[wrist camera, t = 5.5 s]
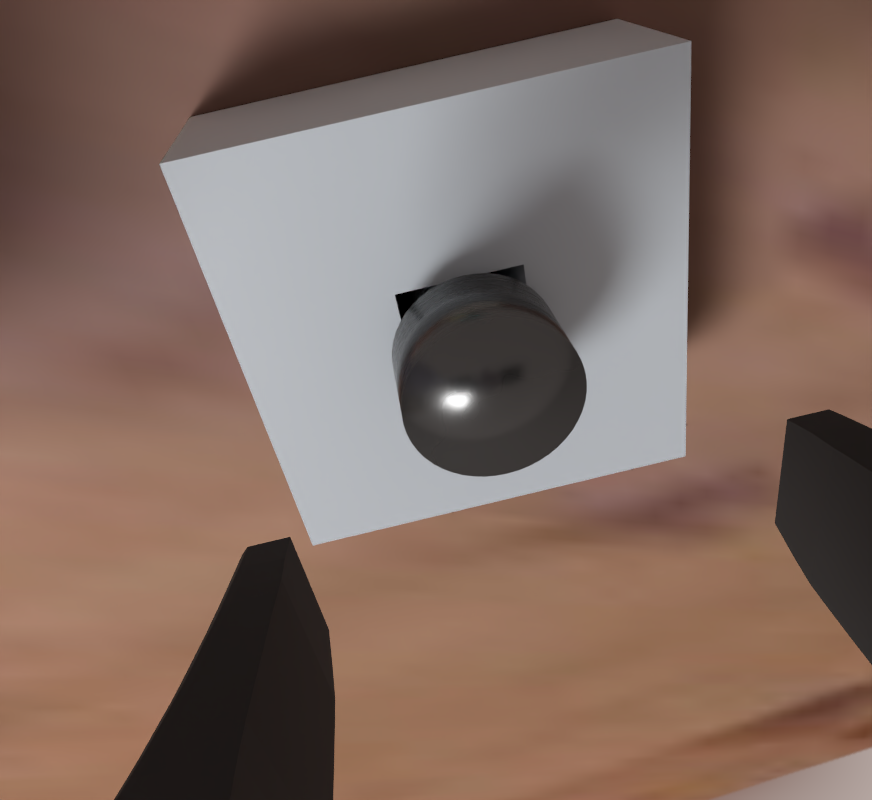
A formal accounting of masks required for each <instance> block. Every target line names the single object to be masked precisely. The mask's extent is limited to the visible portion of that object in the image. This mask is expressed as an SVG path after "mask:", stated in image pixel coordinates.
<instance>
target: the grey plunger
mask: <svg viewBox="0 0 872 800" xmlns="http://www.w3.org/2000/svg"><path fill="white" fill-rule="evenodd" d="M411 293H412V297H413V301H414V303H413V304H412V306H411V307H410V308H409V309H408V311H407V312H406V313H405V315H404V316H403V318H402V320H401V321H400V323H399V326H398V328H397V330H396V333H395V337H394V340H393V346H392V364H393V370H394V376H395V381H396V387H397V392H398V398H399V403H400V409H401V414H402V420H403V425H404V428H405V431H406V433H407V436H408V437H409V439H410V441H411V443H412V444H413V446H414V447H415V448H416V449H417V451H418V452H419V453H420V454H421V455H422V456H423V457H425V458H426V459H427V460H429V461H430V462H431V463H433V464H434V465H436V466H438V467H440V468H442V469H444V470H447V471H450V472H452V473H457V474H461V475H466V476H476V477H487V476H497V475H503V474H508V473H511V472H515V471H518V470H521V469H523V468H526V467H528V466H530V465H532V464H534V463H536V462H538V461H540V460H541V459H543V458H544V457H546V456H547V455H549V454H550V453H551V452H552V451H554V450H555V449H556V448H557V447H558V446H559V445H560V444H561V443H562V442H563V441H564V440H565V439H566V438H567V437H568V435H569V434H570V433H571V432H572V430H573V429H574V427H575V425H576V424H577V422H578V420H579V418H580V416H581V413H582V411H583V408H584V404H585V400H586V393H587V380H586V373H585V369H584V366H583V363H582V361H581V359H580V357H579V355H578V353H577V351H576V350H575V348H574V346H573V345H572V343H571V342H570V340H569V338H568V337H567V335H566V334H565V332H564V330H563V329H562V327H561V326H560V324H559V322H558V321H557V319H556V317H555V316H554V314H553V313H552V311H551V309H550V308H549V306H548V305H547V303H546V302H545V301H544V299H543V298H542V297H541V296H540V295H539V294H538V293H537V292H536V291H535V290H533V289H532V288H531V287H529V286H528V285H526V284H524V283H522V282H521V281H519V280H516V279H514V278H511V277H508V276H504V275H499V274H490V273H477V274H469V275H463V276H459V277H456V278H452V279H450V280H447V281H445V282H443V283H440V284H438V285H434V286H430V287H425V288H421V289H417V290H412V291H411Z"/></svg>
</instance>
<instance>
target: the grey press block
mask: <svg viewBox="0 0 872 800" xmlns="http://www.w3.org/2000/svg"><path fill="white" fill-rule="evenodd" d="M690 106H691V41H690V40H687V39H683V38H680V37H677V36H673V35H670V34H667V33H663V32H660V31H657V30H653V29H650V28H647V27H643V26H640V25H637V24H633V23H630V22H627V21H623V20H620V19H614V20H609V21H605V22H601V23H596V24H592V25H588V26H583V27H579V28H575V29H570V30H566V31H562V32H557V33H553V34H549V35H544V36H540V37H536V38H531V39H527V40H523V41H518V42H514V43H510V44H505V45H501V46H497V47H492V48H488V49H484V50H479V51H475V52H471V53H466V54H462V55H458V56H453V57H449V58H444V59H440V60H436V61H431V62H427V63H423V64H418V65H414V66H410V67H405V68H401V69H397V70H392V71H388V72H384V73H379V74H375V75H371V76H366V77H362V78H358V79H353V80H349V81H345V82H340V83H336V84H332V85H327V86H323V87H319V88H314V89H310V90H306V91H301V92H297V93H293V94H288V95H284V96H280V97H275V98H271V99H266V100H262V101H258V102H253V103H249V104H245V105H240V106H236V107H232V108H227V109H223V110H219V111H214V112H210V113H206V114H201V115H197V116H193V117H190V118H189V119H188V121H187V122H186V124H185V125H184V127H183V128H182V130H181V131H180V133H179V135H178V136H177V138H176V139H175V141H174V142H173V144H172V145H171V147H170V148H169V150H168V151H167V153H166V155H165V156H164V158H163V159H162V161H161V162H160V167H161V169H162V172H163V174H164V177H165V179H166V182H167V184H168V187H169V189H170V192H171V194H172V197H173V199H174V201H175V204H176V206H177V209H178V211H179V214H180V216H181V219H182V221H183V224H184V226H185V229H186V231H187V234H188V236H189V239H190V241H191V244H192V246H193V249H194V251H195V254H196V256H197V259H198V261H199V264H200V266H201V269H202V271H203V274H204V276H205V279H206V281H207V284H208V286H209V288H210V291H211V293H212V296H213V298H214V301H215V303H216V306H217V308H218V311H219V313H220V316H221V318H222V321H223V323H224V326H225V328H226V331H227V333H228V336H229V338H230V341H231V343H232V346H233V348H234V351H235V353H236V356H237V358H238V361H239V363H240V366H241V368H242V370H243V373H244V375H245V378H246V380H247V383H248V385H249V388H250V390H251V393H252V395H253V398H254V400H255V403H256V405H257V408H258V410H259V413H260V415H261V418H262V420H263V423H264V425H265V428H266V430H267V433H268V435H269V438H270V440H271V443H272V445H273V448H274V450H275V453H276V455H277V457H278V460H279V462H280V465H281V467H282V470H283V472H284V475H285V477H286V480H287V482H288V485H289V487H290V490H291V492H292V495H293V497H294V500H295V502H296V505H297V507H298V510H299V512H300V515H301V517H302V520H303V522H304V525H305V527H306V530H307V532H308V535H309V537H310V540H311V542H312V544H313V545H317V544H321V543H325V542H329V541H334V540H338V539H342V538H346V537H350V536H354V535H359V534H363V533H367V532H371V531H375V530H379V529H384V528H388V527H392V526H396V525H400V524H404V523H409V522H413V521H417V520H421V519H425V518H429V517H434V516H438V515H442V514H446V513H450V512H454V511H459V510H463V509H467V508H471V507H475V506H480V505H484V504H488V503H492V502H496V501H500V500H505V499H509V498H513V497H517V496H521V495H525V494H530V493H534V492H538V491H542V490H546V489H550V488H555V487H559V486H563V485H567V484H571V483H575V482H580V481H584V480H588V479H592V478H596V477H601V476H605V475H609V474H613V473H617V472H621V471H626V470H630V469H634V468H638V467H642V466H646V465H651V464H655V463H659V462H663V461H667V460H671V459H676V458H680V457H684V456H685V452H686V383H687V314H688V245H689V175H690ZM493 271H497V274H499V275H504V276H508V277H511V278H514V279H516V280H519V281H521V282H522V283H524V284H526V285H528V286H529V287H531V288H532V289H533V290H535V291H536V292H537V293H538V294H539V295H540V296H541V297H542V298H543V299H544V301H545V302H546V303H547V305H548V306H549V308H550V309H551V311H552V313H553V314H554V316H555V317H556V319H557V321H558V322H559V324H560V326H561V327H562V329H563V330H564V332H565V334H566V335H567V337H568V338H569V340H570V342H571V343H572V345H573V346H574V348H575V350H576V351H577V353H578V355H579V357H580V359H581V361H582V363H583V366H584V369H585V373H586V380H587V393H586V400H585V404H584V408H583V411H582V413H581V416H580V418H579V420H578V422H577V424H576V425H575V427H574V429H573V430H572V432H571V433H570V434H569V435H568V437H567V438H566V439H565V440H564V441H563V442H562V443H561V444H560V445H559V446H558V447H557V448H556V449H555V450H554V451H552V452H551V453H550V454H549V455H547V456H546V457H544V458H543V459H541V460H540V461H538V462H536V463H534V464H532V465H530V466H528V467H526V468H523V469H521V470H518V471H515V472H511V473H508V474H503V475H497V476H487V477H476V476H466V475H461V474H457V473H452V472H450V471H447V470H444V469H442V468H440V467H438V466H436V465H434V464H433V463H431V462H430V461H429V460H427V459H426V458H425V457H423V456H422V455H421V454H420V453H419V452H418V451H417V449H416V448H415V447H414V446H413V444H412V443H411V441H410V439H409V437H408V436H407V433H406V431H405V428H404V425H403V420H402V414H401V409H400V403H399V398H398V392H397V387H396V381H395V376H394V370H393V364H392V346H393V340H394V337H395V333H396V330H397V328H398V326H399V323H400V321H401V320H402V318H401V313H400V309H399V305H398V301H397V297H396V294H400V293H404V292H408V291H412V290H417V289H421V288H425V287H430V286H434V285H438V284H440V283H443V282H445V281H447V280H450V279H452V278H456V277H459V276H463V275H469V274H477V273H489V272H493Z"/></svg>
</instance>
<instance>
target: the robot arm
mask: <svg viewBox="0 0 872 800" xmlns="http://www.w3.org/2000/svg"><path fill="white" fill-rule="evenodd" d="M775 524H776V526H777V528H778V529H779V531H780V533H781V535H782V536H783V538H784V540H785V542H786V544H787V545H788V547H789V549H790V551H791V553H792V554H793V556H794V558H795V559H796V561H797V563H798V564H799V566H800V568H801V569H802V571H803V573H804V574H805V576H806V578H807V579H808V581H809V583H810V584H811V586H812V587H813V588H814V590H815V591H816V592H817V594H818V595H819V596H820V598H821V599H822V600H823V602H824V603H825V604H826V606H827V607H828V608H829V610H830V611H831V612H832V614H833V615H834V616H835V618H836V619H837V620H838V622H839V623H840V624H841V626H842V627H843V628H844V629H845V631H846V632H847V633H848V635H849V636H850V637H851V639H852V640H853V641H854V642H855V644H856V645H857V646H858V648H859V649H860V650H861V652H862V653H863V654H864V655H865V657H866V658H867V659H868V661H869V662H870V663H871V664H872V429H871V428H869V427H867V426H865V425H863V424H860V423H858V422H856V421H854V420H852V419H850V418H847V417H845V416H843V415H841V414H838V413H836V412H834V411H831V410H825V411H821V412H816V413H812V414H808V415H804V416H799V417H795V418H791V419H787V426H786V434H785V442H784V451H783V459H782V468H781V476H780V485H779V493H778V501H777V510H776V518H775ZM334 735H335V692H334V680H333V668H332V657H331V647H330V637H329V629H328V627H327V624H326V622H325V619H324V617H323V615H322V612H321V610H320V607H319V605H318V603H317V600H316V598H315V595H314V593H313V591H312V588H311V586H310V584H309V581H308V579H307V576H306V574H305V572H304V569H303V567H302V564H301V562H300V560H299V557H298V555H297V552H296V550H295V548H294V545H293V543H292V540H291V538H290V537H288V538H284V539H279V540H275V541H271V542H267V543H263V544H258V545H254V546H250V547H247V549H246V550H245V552H244V553H243V555H242V557H241V559H240V561H239V563H238V566H237V568H236V570H235V572H234V575H233V577H232V579H231V581H230V584H229V586H228V588H227V590H226V592H225V595H224V597H223V599H222V601H221V603H220V606H219V608H218V610H217V612H216V614H215V616H214V618H213V620H212V622H211V625H210V627H209V629H208V631H207V633H206V635H205V637H204V639H203V641H202V643H201V645H200V647H199V649H198V651H197V653H196V655H195V657H194V659H193V661H192V663H191V665H190V667H189V669H188V671H187V673H186V675H185V677H184V679H183V681H182V683H181V685H180V687H179V688H178V690H177V692H176V694H175V696H174V698H173V700H172V702H171V703H170V705H169V707H168V709H167V710H166V712H165V714H164V716H163V717H162V719H161V721H160V723H159V724H158V726H157V728H156V730H155V732H154V733H153V735H152V737H151V739H150V740H149V742H148V744H147V746H146V747H145V749H144V751H143V753H142V755H141V756H140V758H139V760H138V761H137V763H136V765H135V766H134V768H133V770H132V771H131V773H130V775H129V776H128V778H127V780H126V781H125V783H124V784H123V786H122V788H121V789H120V791H119V793H118V794H117V796H116V797H115V799H114V800H333V780H334Z"/></svg>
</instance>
